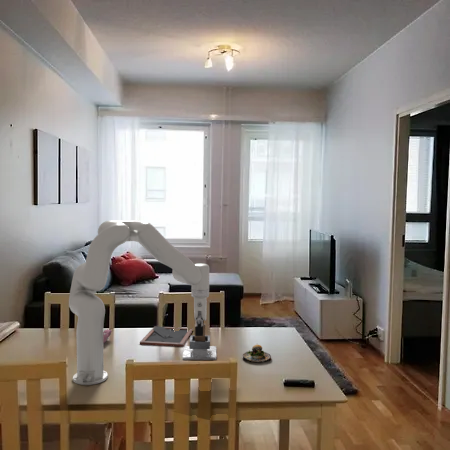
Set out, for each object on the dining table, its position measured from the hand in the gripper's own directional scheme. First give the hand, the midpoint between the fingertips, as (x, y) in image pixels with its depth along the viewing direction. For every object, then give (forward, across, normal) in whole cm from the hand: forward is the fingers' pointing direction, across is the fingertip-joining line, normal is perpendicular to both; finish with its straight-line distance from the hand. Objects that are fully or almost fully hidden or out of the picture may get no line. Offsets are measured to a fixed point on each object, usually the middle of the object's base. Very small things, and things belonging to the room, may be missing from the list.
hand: (199, 332), depth 206 cm
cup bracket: (+10, 0, 0) cm, 10 cm away
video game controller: (+10, +15, +44) cm, 48 cm away
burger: (+10, -6, -24) cm, 27 cm away
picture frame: (+10, +23, +16) cm, 30 cm away
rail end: (+5, 0, 0) cm, 5 cm away
